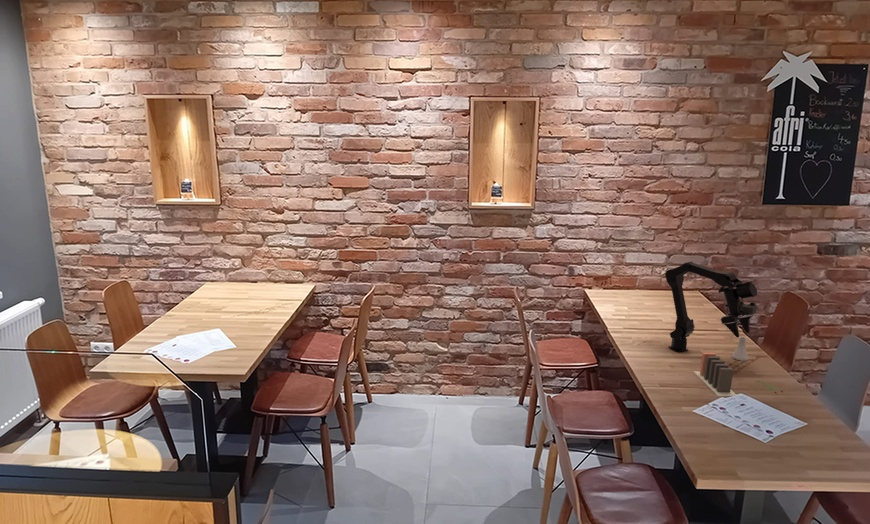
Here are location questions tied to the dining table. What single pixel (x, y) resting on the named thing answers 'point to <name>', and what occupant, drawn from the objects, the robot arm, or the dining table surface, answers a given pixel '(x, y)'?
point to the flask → (741, 350)
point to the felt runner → (715, 388)
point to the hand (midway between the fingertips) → (743, 335)
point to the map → (768, 386)
